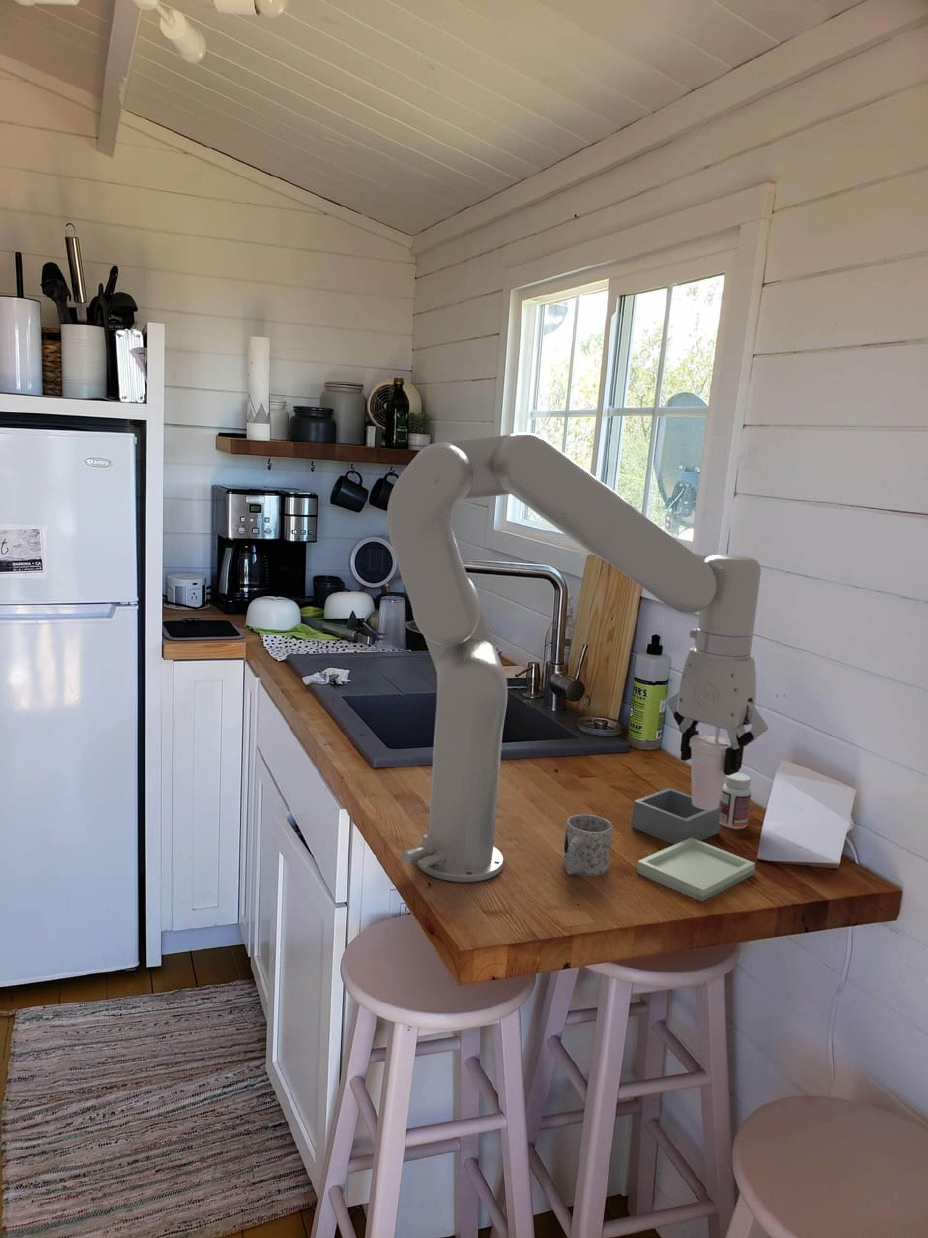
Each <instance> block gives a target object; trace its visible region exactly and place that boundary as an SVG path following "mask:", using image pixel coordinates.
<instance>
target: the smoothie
mask: <svg viewBox="0 0 928 1238" xmlns="http://www.w3.org/2000/svg"><path fill="white" fill-rule="evenodd" d="M720 730H721V728H718V727H715V731H714V732H715V734H699V735H695V736H692V737H691V738H690V743H689V746H690V747H691V759H690V761H691V766H690V767H691V796H692V805H693V806H695V807H697V808H700V809H704V810H715V809H717V808H718V806H720V800H721V794H722V790H723V787H724V784H725V779H726V775H725V774H724V764H725V755H726V749H727V748H728V747H730V741H729V738H726V737H723V736H720Z"/></svg>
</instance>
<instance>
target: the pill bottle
mask: <svg viewBox="0 0 928 1238" xmlns="http://www.w3.org/2000/svg"><path fill="white" fill-rule="evenodd" d="M751 780H752V778H751V777H750V776H749V775H748V774H744V773H743V772H737V773H734V774H731V775H729V776H728V775H726V779H725V783H724V787H723V790H722V794H721V798H720V802H719V806H720V807H721V813H720V821H719V825H721V826H722V827H725V828H728V829H731V830H732V829H734V830H741V829H742V830H743V829H745V828H746V827H747V826H748V822H749V813H750V806H751V796H752V790H751V788H750V786H751Z"/></svg>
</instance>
